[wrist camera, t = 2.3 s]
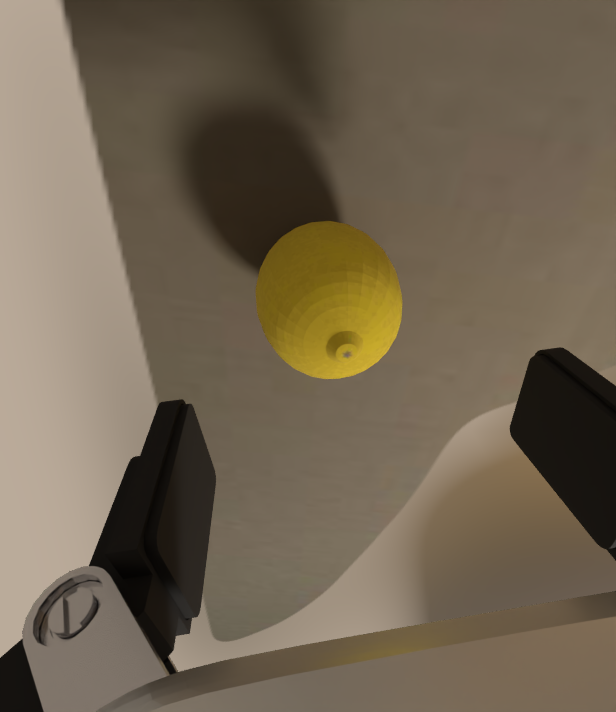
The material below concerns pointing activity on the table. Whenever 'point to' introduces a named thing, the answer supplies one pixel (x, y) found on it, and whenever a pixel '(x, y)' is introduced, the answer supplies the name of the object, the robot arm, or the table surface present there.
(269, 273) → the lemon
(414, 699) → the robot arm
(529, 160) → the table surface
